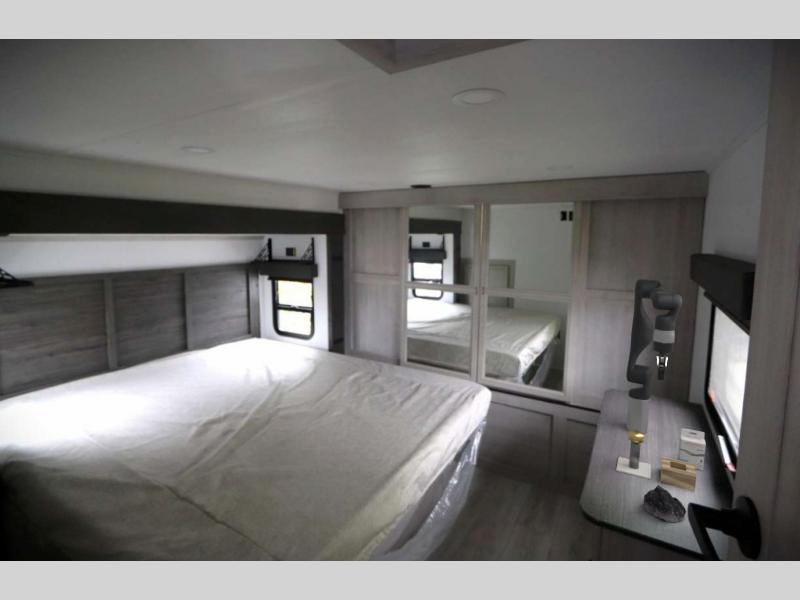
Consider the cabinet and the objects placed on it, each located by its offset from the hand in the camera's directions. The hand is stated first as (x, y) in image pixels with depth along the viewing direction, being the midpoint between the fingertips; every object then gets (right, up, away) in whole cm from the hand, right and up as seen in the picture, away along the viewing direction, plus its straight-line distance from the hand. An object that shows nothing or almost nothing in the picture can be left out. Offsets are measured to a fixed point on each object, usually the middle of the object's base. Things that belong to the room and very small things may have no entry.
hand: (660, 377), depth 177 cm
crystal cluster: (-19, -42, -32) cm, 56 cm away
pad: (-14, -37, -5) cm, 40 cm away
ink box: (+11, -37, -3) cm, 39 cm away
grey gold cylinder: (-14, -37, -5) cm, 40 cm away
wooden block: (-2, -38, -13) cm, 41 cm away
